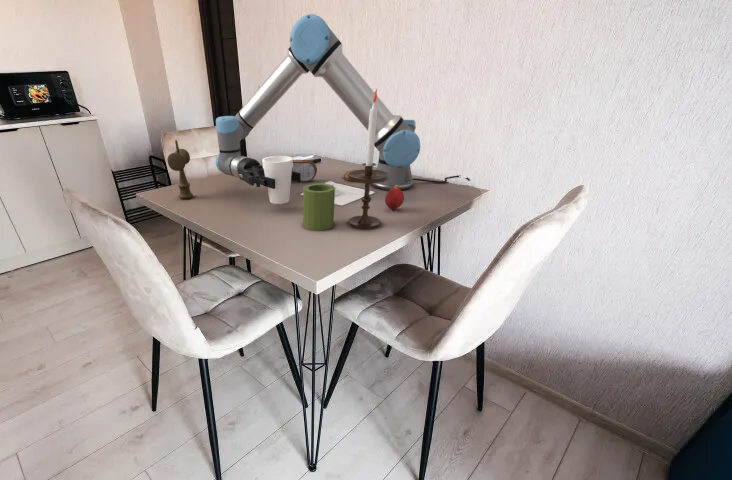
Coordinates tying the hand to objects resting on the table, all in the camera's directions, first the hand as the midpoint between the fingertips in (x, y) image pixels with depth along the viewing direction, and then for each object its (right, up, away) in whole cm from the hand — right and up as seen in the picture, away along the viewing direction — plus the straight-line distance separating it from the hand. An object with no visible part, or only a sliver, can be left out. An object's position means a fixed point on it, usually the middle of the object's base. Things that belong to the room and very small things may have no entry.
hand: (287, 180), depth 115 cm
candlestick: (+23, -14, -4) cm, 27 cm away
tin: (+4, +12, +38) cm, 40 cm away
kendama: (-38, +1, +23) cm, 44 cm away
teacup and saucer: (+18, +3, +23) cm, 29 cm away
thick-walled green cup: (+9, -14, -4) cm, 18 cm away
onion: (+34, -8, +6) cm, 35 cm away
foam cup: (-3, -4, +7) cm, 9 cm away
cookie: (+28, +13, +39) cm, 50 cm away
